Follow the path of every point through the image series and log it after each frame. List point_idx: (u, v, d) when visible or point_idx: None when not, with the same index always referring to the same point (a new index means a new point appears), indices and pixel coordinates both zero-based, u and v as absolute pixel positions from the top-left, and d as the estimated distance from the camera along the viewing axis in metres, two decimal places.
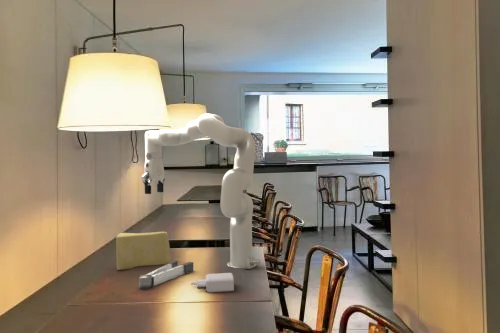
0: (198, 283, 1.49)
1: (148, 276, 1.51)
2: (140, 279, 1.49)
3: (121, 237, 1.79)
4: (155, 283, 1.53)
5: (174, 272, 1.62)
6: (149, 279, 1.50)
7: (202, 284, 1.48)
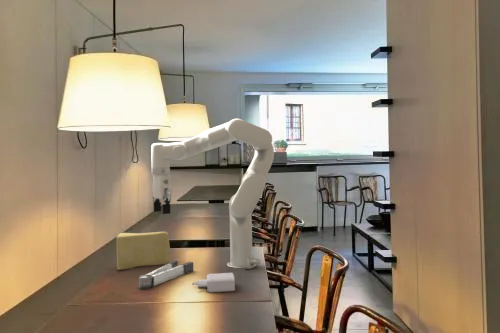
0: (199, 283, 1.49)
1: (148, 276, 1.51)
2: (140, 279, 1.49)
3: (121, 237, 1.79)
4: (155, 283, 1.53)
5: (174, 272, 1.62)
6: (149, 279, 1.50)
7: (203, 284, 1.49)
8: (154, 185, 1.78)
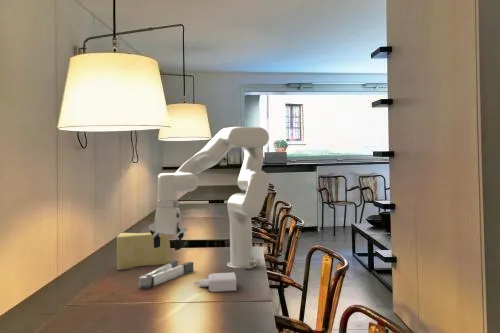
0: (201, 283, 1.49)
1: (148, 276, 1.51)
2: (140, 279, 1.49)
3: (122, 237, 1.79)
4: (155, 283, 1.53)
5: (174, 272, 1.62)
6: (149, 279, 1.50)
7: (205, 284, 1.49)
8: (160, 219, 1.62)
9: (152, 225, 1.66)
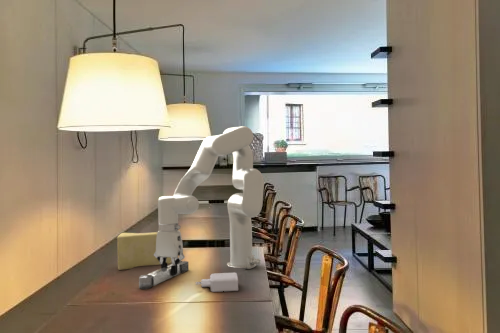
0: (202, 283, 1.49)
1: (148, 276, 1.51)
2: (140, 279, 1.49)
3: (122, 237, 1.79)
4: (155, 283, 1.53)
5: None
6: (149, 279, 1.50)
7: (206, 284, 1.49)
8: (162, 242, 1.63)
9: None
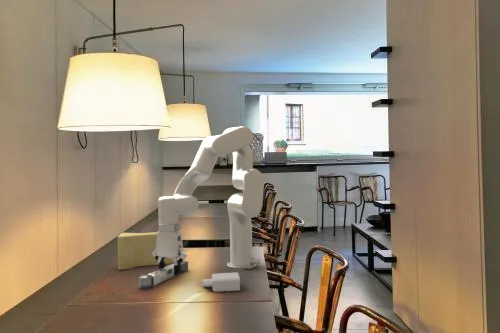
0: (204, 282, 1.49)
1: (148, 276, 1.51)
2: (140, 279, 1.49)
3: (122, 237, 1.79)
4: (155, 283, 1.53)
5: (171, 272, 1.63)
6: (149, 279, 1.50)
7: (208, 283, 1.49)
8: (162, 243, 1.63)
9: (155, 250, 1.66)
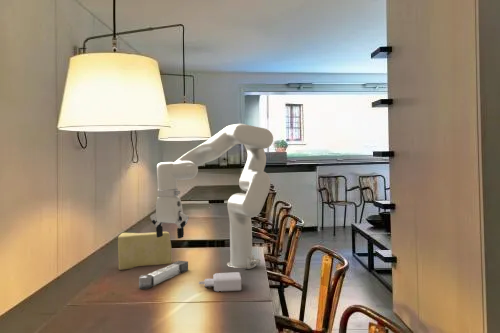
0: (206, 282, 1.50)
1: (148, 276, 1.51)
2: (140, 279, 1.49)
3: (123, 237, 1.79)
4: (155, 283, 1.53)
5: (171, 272, 1.63)
6: (149, 279, 1.50)
7: (210, 283, 1.49)
8: (162, 208, 1.62)
9: (154, 215, 1.66)
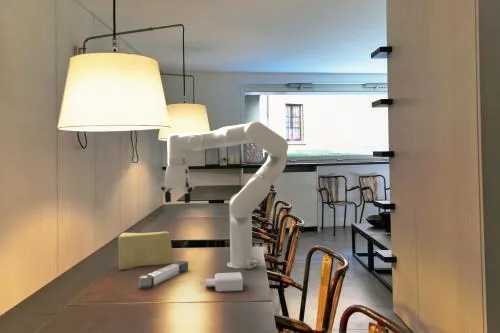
0: (207, 282, 1.49)
1: (148, 276, 1.51)
2: (140, 279, 1.49)
3: (123, 237, 1.79)
4: (155, 283, 1.53)
5: (171, 272, 1.63)
6: (149, 279, 1.50)
7: (211, 283, 1.49)
8: (171, 175, 1.78)
9: (163, 182, 1.82)
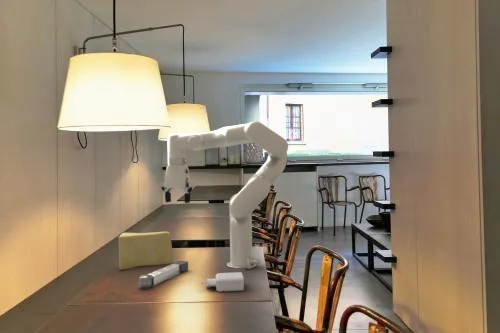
0: (208, 282, 1.49)
1: (148, 276, 1.51)
2: (140, 279, 1.49)
3: (123, 237, 1.79)
4: (155, 283, 1.53)
5: (171, 272, 1.63)
6: (149, 279, 1.50)
7: (212, 283, 1.49)
8: (171, 175, 1.78)
9: (163, 182, 1.82)
